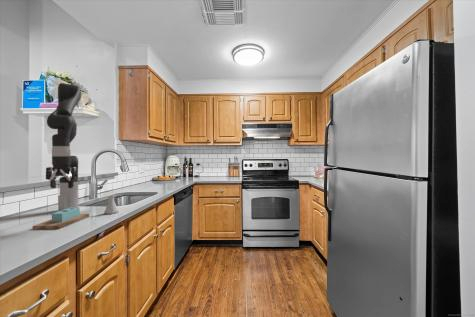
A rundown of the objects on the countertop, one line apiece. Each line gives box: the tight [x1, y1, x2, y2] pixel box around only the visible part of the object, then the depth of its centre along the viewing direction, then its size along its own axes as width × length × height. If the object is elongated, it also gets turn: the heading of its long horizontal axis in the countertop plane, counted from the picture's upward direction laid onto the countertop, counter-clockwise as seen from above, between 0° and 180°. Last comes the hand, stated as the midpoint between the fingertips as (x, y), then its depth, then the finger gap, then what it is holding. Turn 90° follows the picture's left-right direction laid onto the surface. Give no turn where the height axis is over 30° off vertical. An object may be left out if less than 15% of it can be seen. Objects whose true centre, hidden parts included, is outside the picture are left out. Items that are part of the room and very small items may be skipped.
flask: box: [103, 194, 119, 215], centre depth 140 cm, size 7×7×10 cm
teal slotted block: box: [51, 207, 81, 222], centre depth 123 cm, size 5×13×4 cm, turn 0°
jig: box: [32, 213, 90, 230], centre depth 121 cm, size 12×22×5 cm, turn 0°
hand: (62, 188), depth 121 cm, fingers open, 8 cm apart
